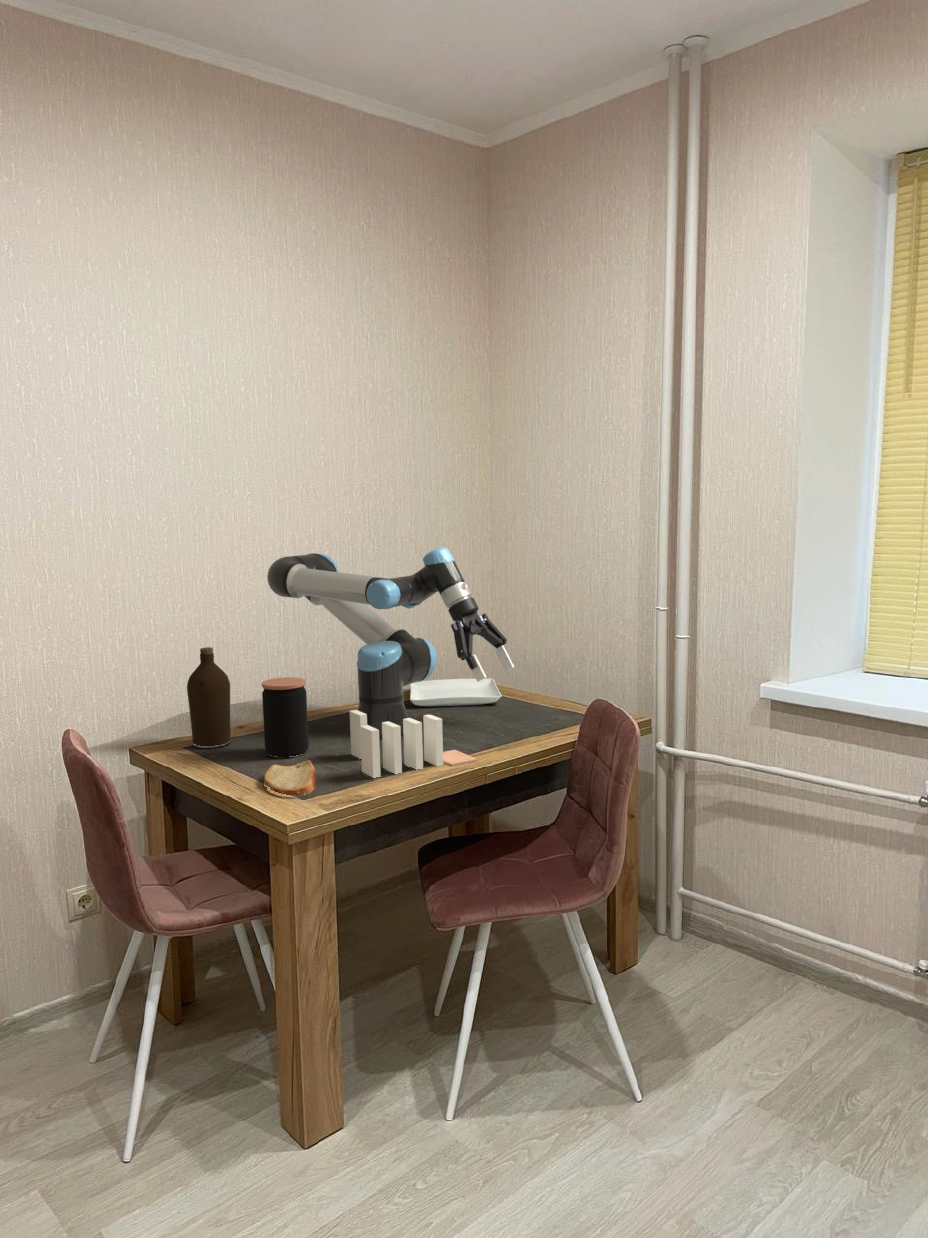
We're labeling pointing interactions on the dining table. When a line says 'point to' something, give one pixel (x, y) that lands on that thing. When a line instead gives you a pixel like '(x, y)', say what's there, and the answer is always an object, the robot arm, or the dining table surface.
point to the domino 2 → (370, 751)
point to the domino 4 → (413, 743)
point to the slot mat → (456, 758)
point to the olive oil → (209, 702)
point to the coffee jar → (285, 716)
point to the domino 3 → (391, 747)
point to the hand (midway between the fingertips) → (496, 674)
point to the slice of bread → (291, 778)
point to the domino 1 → (356, 731)
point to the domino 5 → (433, 740)
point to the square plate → (454, 692)
